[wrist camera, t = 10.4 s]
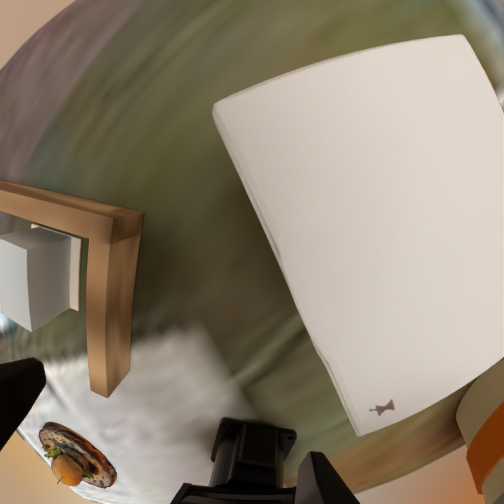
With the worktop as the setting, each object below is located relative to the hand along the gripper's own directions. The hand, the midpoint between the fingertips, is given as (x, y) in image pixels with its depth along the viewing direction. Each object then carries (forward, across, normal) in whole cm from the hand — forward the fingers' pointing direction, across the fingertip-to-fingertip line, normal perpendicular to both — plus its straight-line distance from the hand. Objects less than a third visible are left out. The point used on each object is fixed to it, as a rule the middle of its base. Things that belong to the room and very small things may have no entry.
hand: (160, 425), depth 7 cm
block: (+12, +14, +2) cm, 19 cm away
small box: (+12, -5, -7) cm, 15 cm away
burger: (+12, +15, +29) cm, 35 cm away
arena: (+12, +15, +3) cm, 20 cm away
